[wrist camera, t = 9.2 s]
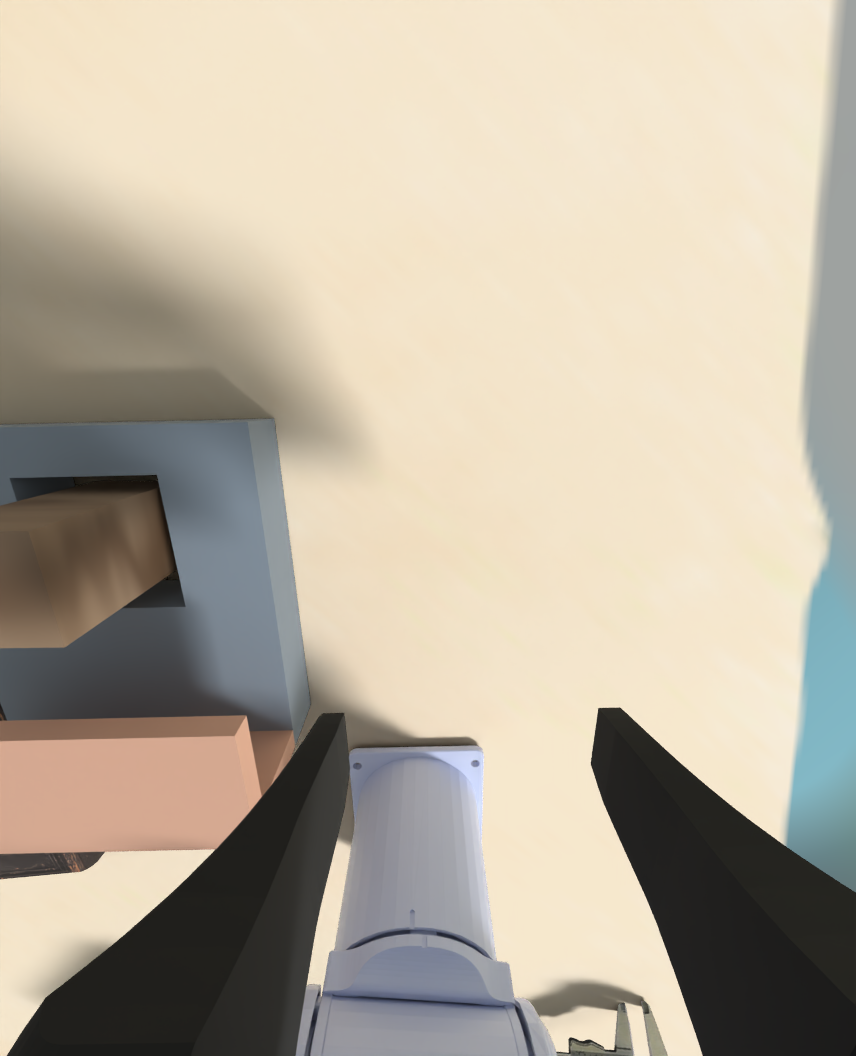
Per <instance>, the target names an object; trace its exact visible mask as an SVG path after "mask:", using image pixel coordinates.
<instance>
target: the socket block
mask: <svg viewBox="0 0 856 1056" xmlns="http://www.w3.org/2000/svg"><path fill="white" fill-rule="evenodd" d="M128 475H157V478H158V483H159V487H160V492H161V496H162V501H163V505H164V510H165V514H166V519H167V524H168V528H169V533H170V537H171V542H172V546H173V551H174V556H175V560H176V565H177V569H178V574H179V578H180V580H161V581H160V582H158V583H157V584H155V585H154V586H153V587H151V588H150V589H148V590H147V591H145V592H144V593H143V594H141V595H140V596H138V597H137V598H135V599H134V600H132V601H131V602H130V603H128V604H127V605H125V606H124V607H122V608H121V609H119V610H118V611H117V612H115V613H114V614H112V615H111V616H109V617H108V618H107V619H105V620H104V621H102V622H101V623H99V624H98V625H96V626H95V627H94V628H92V629H91V630H89V631H88V632H86V633H85V634H83V635H82V636H81V637H79V638H78V639H76V640H75V641H73V642H72V643H70V644H69V645H68V646H66V647H64V648H0V704H1V706H2V709H3V711H4V714H5V716H6V719H7V721H13V720H58V719H103V718H149V717H194V716H239V715H246V716H247V721H248V726H249V731H284V730H293V734H294V741H295V745H296V743H297V740H298V737H299V735H300V732H301V729H302V727H303V724H304V721H305V719H306V716H307V713H308V711H309V708H310V705H311V702H310V695H309V687H308V679H307V671H306V663H305V656H304V648H303V640H302V632H301V624H300V616H299V609H298V601H297V593H296V585H295V577H294V570H293V562H292V554H291V546H290V538H289V530H288V523H287V515H286V507H285V499H284V491H283V484H282V476H281V468H280V460H279V452H278V444H277V437H276V429H275V421H274V419H228V420H182V421H135V422H89V423H42V424H0V506H1V505H5V504H8V503H12V502H16V501H20V500H24V499H28V498H32V497H36V496H40V495H44V494H48V493H52V492H56V491H60V490H64V489H68V488H72V487H75V483H74V480H73V477H81V476H128Z"/></svg>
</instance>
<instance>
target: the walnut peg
mask: <svg viewBox="0 0 856 1056" xmlns="http://www.w3.org/2000/svg"><path fill="white" fill-rule="evenodd" d="M176 570H177V565H176V560H175V556H174V551H173V546H172V542H171V537H170V533H169V528H168V524H167V519H166V514H165V510H164V505H163V501H162V496H161V492H160V487H159V483H158V481H95V482H91V483H87V484H83V485H79V486H75V487H72V488H68V489H64V490H60V491H56V492H52V493H48V494H44V495H40V496H36V497H32V498H28V499H24V500H20V501H16V502H12V503H8V504H5V505H1V506H0V648H64V647H66V646H68V645H69V644H70V643H72V642H73V641H75V640H76V639H78V638H79V637H81V636H82V635H83V634H85V633H86V632H88V631H89V630H91V629H92V628H94V627H95V626H96V625H98V624H99V623H101V622H102V621H104V620H105V619H107V618H108V617H109V616H111V615H112V614H114V613H115V612H117V611H118V610H119V609H121V608H122V607H124V606H125V605H127V604H128V603H130V602H131V601H132V600H134V599H135V598H137V597H138V596H140V595H141V594H143V593H144V592H145V591H147V590H148V589H150V588H151V587H153V586H154V585H155V584H157V583H158V582H160V581H161V580H163V579H164V578H166V577H167V576H168V575H170V574H171V573H173V572H174V571H176Z"/></svg>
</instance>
